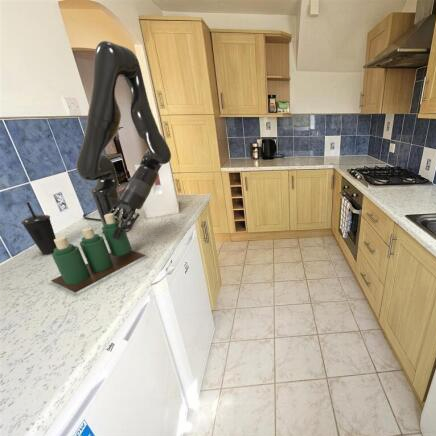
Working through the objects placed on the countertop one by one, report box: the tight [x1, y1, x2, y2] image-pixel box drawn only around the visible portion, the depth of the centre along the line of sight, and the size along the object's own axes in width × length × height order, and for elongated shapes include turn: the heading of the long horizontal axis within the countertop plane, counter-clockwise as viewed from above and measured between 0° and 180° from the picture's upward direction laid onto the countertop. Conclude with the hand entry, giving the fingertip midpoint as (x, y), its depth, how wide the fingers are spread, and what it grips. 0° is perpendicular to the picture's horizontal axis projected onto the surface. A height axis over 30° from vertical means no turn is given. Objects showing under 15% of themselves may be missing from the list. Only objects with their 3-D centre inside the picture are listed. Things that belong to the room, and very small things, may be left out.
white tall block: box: [134, 161, 180, 219], centre depth 128 cm, size 19×15×25 cm
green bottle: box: [101, 213, 132, 256], centre depth 83 cm, size 6×6×14 cm
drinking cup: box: [20, 202, 57, 255], centre depth 90 cm, size 8×8×20 cm
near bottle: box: [51, 236, 90, 285], centre depth 73 cm, size 6×6×14 cm
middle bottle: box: [79, 226, 113, 272], centre depth 78 cm, size 6×6×14 cm
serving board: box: [50, 250, 146, 294], centre depth 81 cm, size 14×22×1 cm, turn 155°
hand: (110, 236), depth 82 cm, fingers closed on green bottle, 6 cm apart
